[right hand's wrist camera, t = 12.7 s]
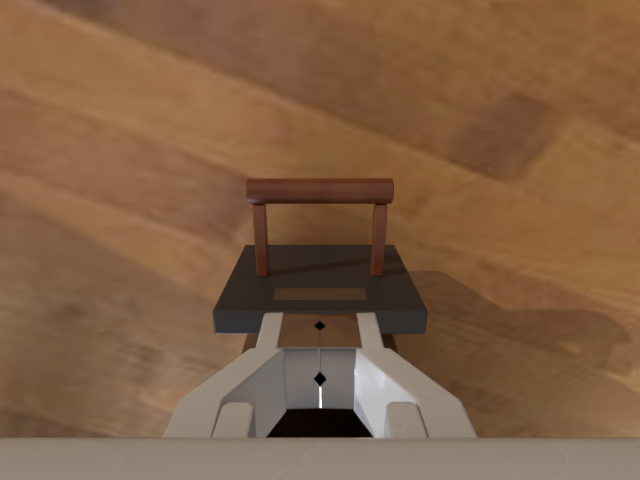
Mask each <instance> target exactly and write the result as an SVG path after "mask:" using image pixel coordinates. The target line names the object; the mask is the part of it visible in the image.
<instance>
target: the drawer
mask: <svg viewBox="0 0 640 480" xmlns="http://www.w3.org/2000/svg"><path fill="white" fill-rule="evenodd" d="M393 197H394V183H393V180H392V179H391V178H356V179H247V182H246V198H247V202H248V203H249V204H253V206H252V208H253V223H254V238H255V245H246V246H245V248H244V250H243V252H242V254H241V256H240V258H239V260H238V262H237V264H236V266H235V268H234V270H233V272H232V274H231V276H230V278H229V280H228V282H227V284H226V286H225V288H224V290H223V292H222V294H221V296H220V298H219V300H218V302H217V304H216V306H215V308H214V310H213V320H214V329H215V333H216V334H247V337H246V341H245V344H244V347H243V350H242V354H243V353H244V352H246V351H247V350H249V349H250V348H256V344H257V340H258V337H259V333H260V329H261V325H262V321H263V317H264V315H265V313H280V312H283V313H320V314H336V313H368V312H374V313H375V314H376V318H377V322H378V325H379V329H380V333H381V337H382V341H383V344H384V348H390V349H392V350H393V351H394V352H396V353H397V354H398V355H399V353H398V350H397V347H396V343H395V340H394V337H393V334H424V333H425V329H426V321H427V313H428V312H427V310H426V308H425V306H424V304H423V302H422V300H421V298H420V296H419V294H418V292H417V290H416V288H415V286H414V284H413V282H412V280H411V278H410V276H409V274H408V272H407V270H406V268H405V266H404V264H403V262H402V260H401V258H400V256H399V254H398V252H397V250H396V248H395V246H394V245H385V236H386V221H387V204H391V203H392V201H393ZM266 204H374V212H373V230H372V245H268V234H267V215H266ZM242 354H241V355H242ZM266 438H374V437H373V435H372V434H371V433H370V431H369V430H368V429H367V427H366V426H365V425H364V424H363V422H362V421H361V420H360V418H359V417H358V416H357V414H356V413H355V412H354V409H331V408H309V409H286V412H285V414H284V415H283V416H282V417H281V419H280V420H279V421H278V423H277V424H276V425H275V426H274V428H273V429H272V430H271V432H270V433H269V434H268V436H267V437H266Z"/></svg>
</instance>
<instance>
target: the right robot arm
mask: <svg viewBox="0 0 640 480" xmlns="http://www.w3.org/2000/svg"><path fill="white" fill-rule="evenodd" d="M309 408H331V409H354V412H355V413H356V414H357V416H358V417H359V418H360V420H361V421H362V422H363V424H364V425H365V426H366V427H367V429H368V430H369V431H370V433H371V434H372V435H373V437H374V438H266V437H267V436H268V434H269V433H270V432H271V430H272V429H273V428H274V426H275V425H276V424H277V423H278V421H279V420H280V419H281V417H282V416H283V415H284V414H285V412H286V409H309ZM0 480H640V438H478V436H477V434H476V432H475V430H474V427H473V425H472V423H471V421H470V419H469V417H468V415H467V412H466V410H465V408H464V406H463V404H462V402H461V400H459V399H458V398H457V397H455V396H454V395H453V394H451V393H450V392H448V391H447V390H446V389H444V388H443V387H442V386H440V385H439V384H438V383H436V382H435V381H434V380H432V379H431V378H429V377H428V376H427V375H425V374H424V373H423V372H421V371H420V370H419V369H417V368H416V367H415V366H413V365H412V364H410V363H409V362H408V361H406V360H405V359H404V358H402V357H401V356H400V355H398V354H397V353H396V352H394V351H393V350H392V349H390V348H384V344H383V341H382V337H381V333H380V329H379V325H378V322H377V318H376V314H375V313H374V312H368V313H336V314H320V313H283V312H280V313H265V315H264V317H263V321H262V325H261V329H260V333H259V337H258V340H257V344H256V348H250V349H249V350H247V351H246V352H244V353H243V354H242V355H240V356H239V357H238V358H236V359H235V360H234V361H232V362H231V363H229V364H228V365H227V366H225V367H224V368H223V369H221V370H220V371H219V372H217V373H216V374H214V375H213V376H212V377H210V378H209V379H208V380H206V381H205V382H204V383H202V384H201V385H199V386H198V387H197V388H195V389H194V390H193V391H191V392H190V393H189V394H187V395H186V396H184V397H183V398H182V399H180V400H179V402H178V404H177V406H176V408H175V411H174V413H173V415H172V417H171V419H170V421H169V423H168V425H167V428H166V430H165V432H164V434H163V436H162V438H0Z"/></svg>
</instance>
